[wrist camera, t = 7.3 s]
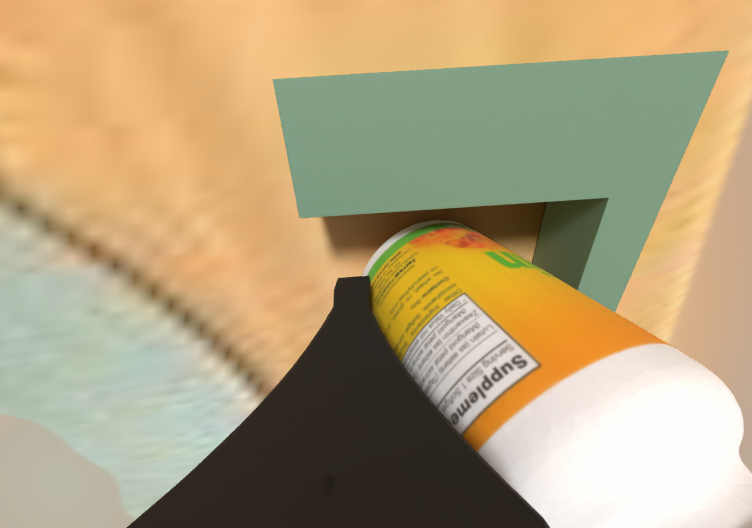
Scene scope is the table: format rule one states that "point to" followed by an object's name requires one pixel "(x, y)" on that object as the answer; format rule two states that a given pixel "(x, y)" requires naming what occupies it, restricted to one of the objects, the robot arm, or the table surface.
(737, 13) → the table surface
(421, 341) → the supplement bottle
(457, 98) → the green u-shaped block
